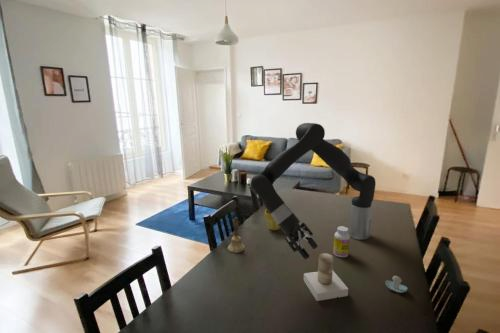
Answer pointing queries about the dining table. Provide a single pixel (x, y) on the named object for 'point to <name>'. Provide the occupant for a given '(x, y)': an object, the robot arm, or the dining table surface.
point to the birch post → (325, 269)
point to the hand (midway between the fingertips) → (311, 252)
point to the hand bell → (236, 239)
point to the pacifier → (396, 284)
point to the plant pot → (271, 221)
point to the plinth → (325, 287)
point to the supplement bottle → (341, 242)
